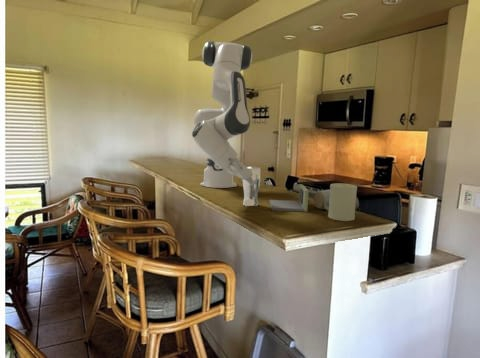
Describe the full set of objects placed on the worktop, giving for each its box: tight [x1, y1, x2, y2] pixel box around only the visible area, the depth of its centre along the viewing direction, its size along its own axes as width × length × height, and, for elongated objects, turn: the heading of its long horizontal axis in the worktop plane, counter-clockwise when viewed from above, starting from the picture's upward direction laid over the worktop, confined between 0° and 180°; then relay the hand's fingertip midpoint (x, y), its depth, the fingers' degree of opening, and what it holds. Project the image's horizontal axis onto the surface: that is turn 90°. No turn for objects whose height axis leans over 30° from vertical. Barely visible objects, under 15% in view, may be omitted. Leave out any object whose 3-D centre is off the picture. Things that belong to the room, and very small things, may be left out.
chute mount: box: [269, 183, 309, 212], centre depth 137 cm, size 14×13×8 cm
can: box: [327, 182, 358, 222], centre depth 122 cm, size 9×9×12 cm
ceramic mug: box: [313, 189, 330, 212], centre depth 134 cm, size 11×8×8 cm
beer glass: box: [242, 166, 261, 207], centre depth 138 cm, size 7×7×15 cm
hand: (249, 182), depth 137 cm, fingers open, 8 cm apart
